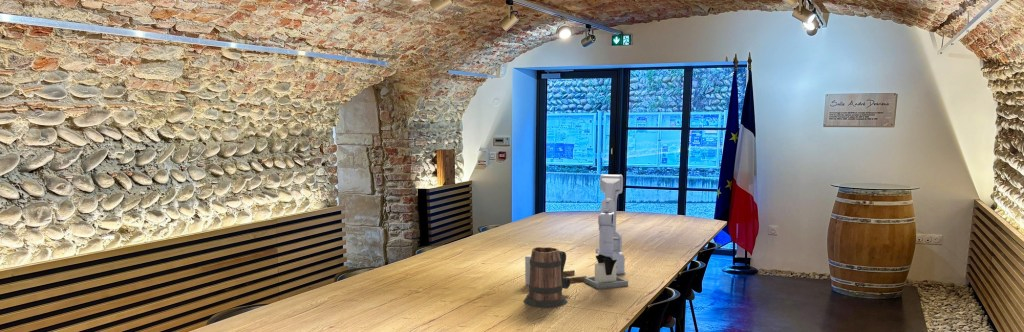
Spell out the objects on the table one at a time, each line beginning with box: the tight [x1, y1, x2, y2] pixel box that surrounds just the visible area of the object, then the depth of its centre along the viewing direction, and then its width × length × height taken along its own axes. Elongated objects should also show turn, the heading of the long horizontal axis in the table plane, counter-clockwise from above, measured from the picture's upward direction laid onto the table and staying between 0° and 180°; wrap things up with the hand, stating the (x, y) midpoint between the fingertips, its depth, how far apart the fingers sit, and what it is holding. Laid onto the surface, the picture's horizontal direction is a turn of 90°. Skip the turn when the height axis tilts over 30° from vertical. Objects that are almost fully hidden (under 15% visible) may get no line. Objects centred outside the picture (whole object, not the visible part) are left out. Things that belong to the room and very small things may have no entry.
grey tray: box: [583, 275, 629, 290], centre depth 269 cm, size 14×12×2 cm
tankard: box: [522, 246, 572, 309], centre depth 246 cm, size 24×17×20 cm
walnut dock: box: [563, 269, 588, 284], centre depth 277 cm, size 10×12×2 cm
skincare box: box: [524, 254, 531, 286], centre depth 268 cm, size 6×4×12 cm
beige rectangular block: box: [594, 262, 617, 282], centre depth 268 cm, size 9×4×7 cm, turn 112°
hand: (606, 273), depth 268 cm, fingers closed on beige rectangular block, 4 cm apart
